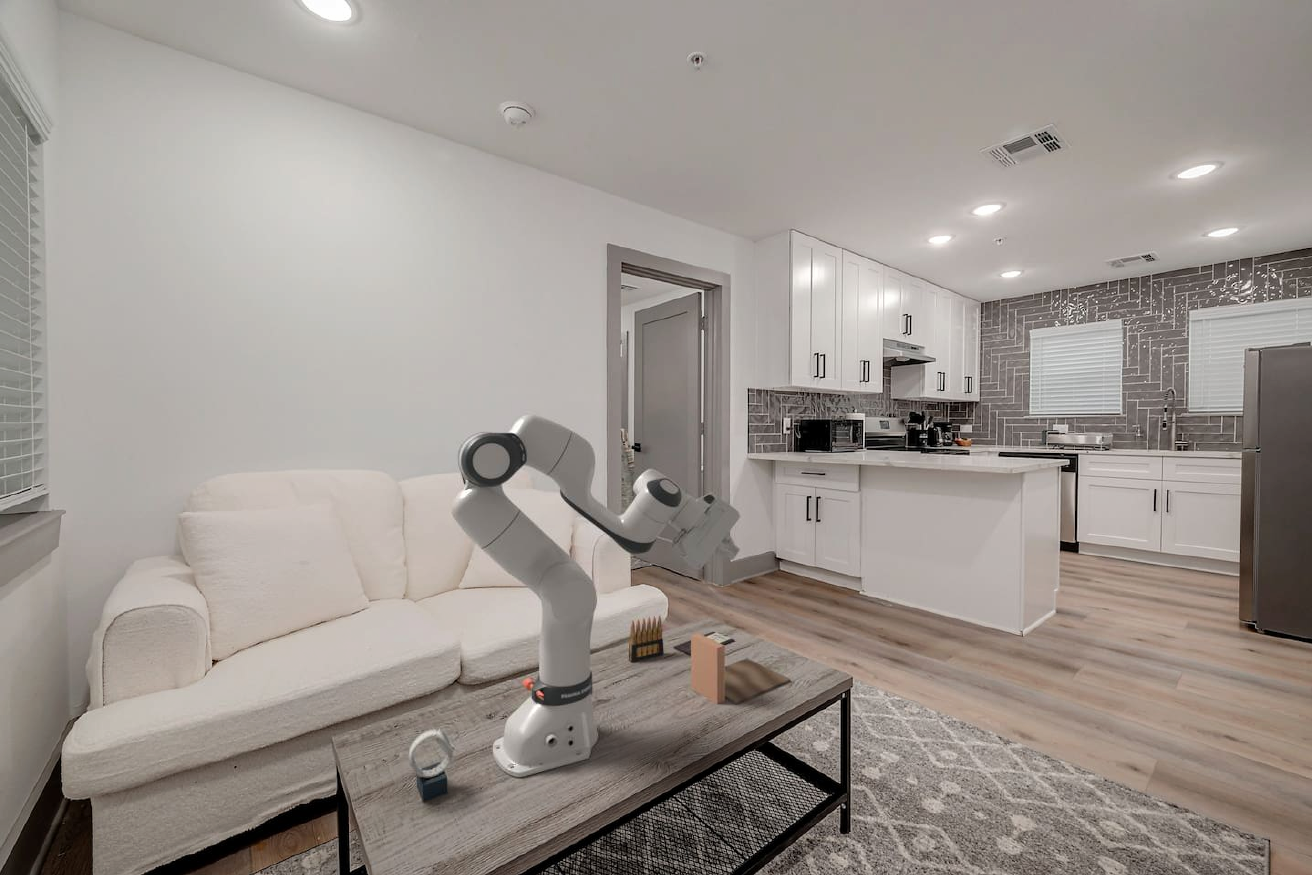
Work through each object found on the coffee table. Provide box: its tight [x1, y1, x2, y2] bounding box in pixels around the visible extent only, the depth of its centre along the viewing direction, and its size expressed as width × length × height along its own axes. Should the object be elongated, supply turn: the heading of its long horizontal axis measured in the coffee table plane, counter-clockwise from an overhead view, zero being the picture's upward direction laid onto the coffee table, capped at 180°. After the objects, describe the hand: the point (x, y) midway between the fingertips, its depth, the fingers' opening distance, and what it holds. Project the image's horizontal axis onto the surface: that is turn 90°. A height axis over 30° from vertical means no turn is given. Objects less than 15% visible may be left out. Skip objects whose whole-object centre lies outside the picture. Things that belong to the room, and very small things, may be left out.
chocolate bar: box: [673, 631, 735, 657], centre depth 171 cm, size 9×1×18 cm
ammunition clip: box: [628, 614, 664, 664], centre depth 161 cm, size 11×2×12 cm, turn 118°
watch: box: [408, 728, 455, 803], centre depth 104 cm, size 6×8×11 cm
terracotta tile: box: [690, 632, 726, 705], centre depth 140 cm, size 3×10×14 cm, turn 36°
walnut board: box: [725, 658, 791, 705], centre depth 147 cm, size 20×16×1 cm
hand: (736, 554), depth 132 cm, fingers closed
